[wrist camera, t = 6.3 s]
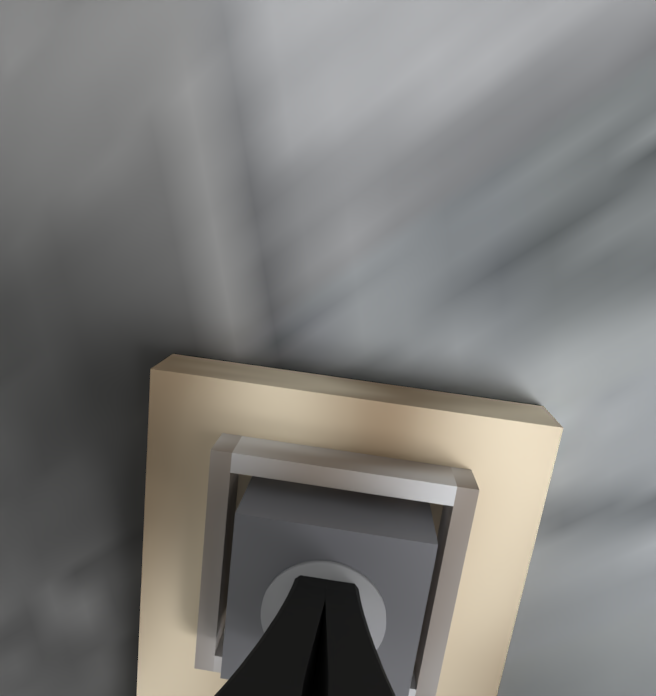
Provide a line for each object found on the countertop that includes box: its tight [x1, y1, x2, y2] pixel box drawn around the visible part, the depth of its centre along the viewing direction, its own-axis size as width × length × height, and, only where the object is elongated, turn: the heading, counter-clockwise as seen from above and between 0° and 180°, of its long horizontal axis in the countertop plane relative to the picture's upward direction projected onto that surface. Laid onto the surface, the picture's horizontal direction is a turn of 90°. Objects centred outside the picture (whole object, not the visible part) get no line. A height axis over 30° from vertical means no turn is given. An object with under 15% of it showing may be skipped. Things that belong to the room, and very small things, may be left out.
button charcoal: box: [220, 476, 438, 696], centre depth 13 cm, size 4×4×2 cm
